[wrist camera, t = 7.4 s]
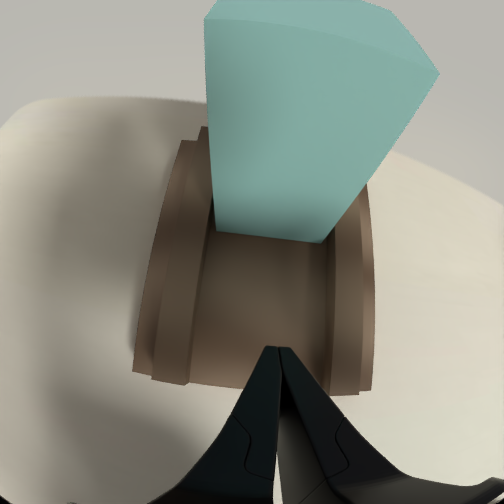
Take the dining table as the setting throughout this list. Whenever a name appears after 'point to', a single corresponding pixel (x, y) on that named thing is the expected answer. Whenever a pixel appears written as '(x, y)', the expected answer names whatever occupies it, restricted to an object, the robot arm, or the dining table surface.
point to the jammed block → (304, 108)
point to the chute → (253, 292)
